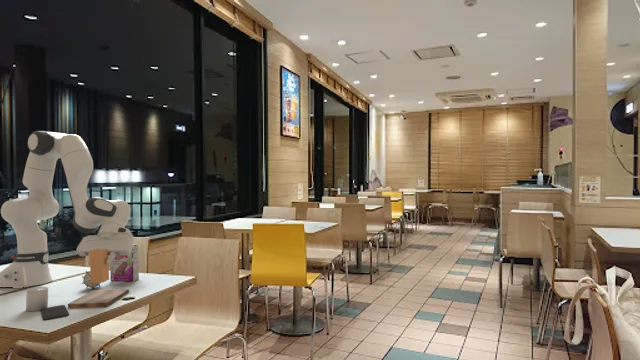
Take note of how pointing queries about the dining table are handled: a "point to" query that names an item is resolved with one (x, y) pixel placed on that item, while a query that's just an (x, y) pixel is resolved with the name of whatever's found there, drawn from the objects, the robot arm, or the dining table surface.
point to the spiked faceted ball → (89, 281)
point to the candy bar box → (125, 266)
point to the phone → (54, 312)
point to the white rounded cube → (37, 298)
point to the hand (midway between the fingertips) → (98, 263)
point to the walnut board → (98, 298)
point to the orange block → (99, 266)
